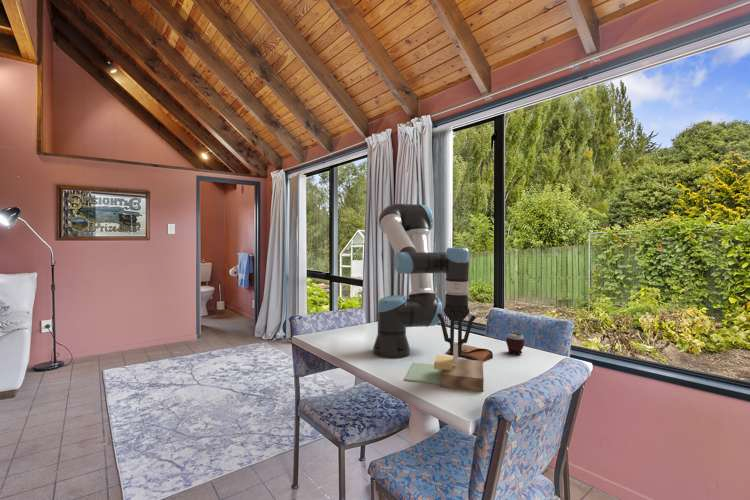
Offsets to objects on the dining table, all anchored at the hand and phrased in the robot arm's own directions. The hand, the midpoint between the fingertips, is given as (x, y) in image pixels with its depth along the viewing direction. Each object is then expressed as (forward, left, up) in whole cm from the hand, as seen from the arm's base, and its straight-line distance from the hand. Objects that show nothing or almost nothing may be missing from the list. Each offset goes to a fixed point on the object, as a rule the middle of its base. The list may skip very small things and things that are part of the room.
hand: (455, 362), depth 127 cm
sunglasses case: (+4, +27, -6) cm, 28 cm away
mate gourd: (+23, +37, -5) cm, 44 cm away
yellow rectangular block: (-4, 0, -1) cm, 4 cm away
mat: (-10, +2, -5) cm, 11 cm away
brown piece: (+3, 0, -5) cm, 6 cm away
